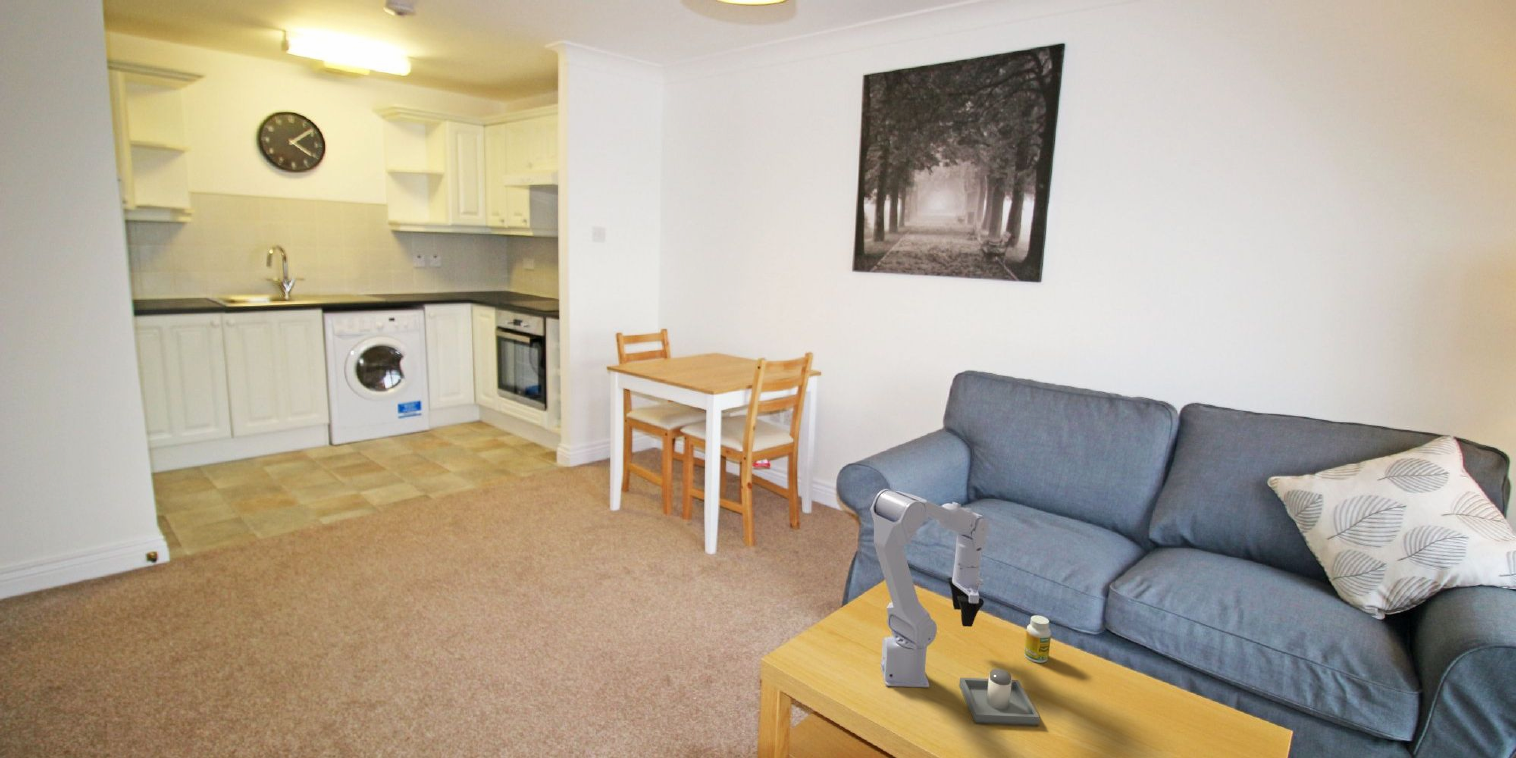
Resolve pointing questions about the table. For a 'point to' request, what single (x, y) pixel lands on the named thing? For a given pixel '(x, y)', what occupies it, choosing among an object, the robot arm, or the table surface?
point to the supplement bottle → (1038, 639)
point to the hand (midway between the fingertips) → (962, 617)
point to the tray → (985, 714)
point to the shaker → (999, 689)
